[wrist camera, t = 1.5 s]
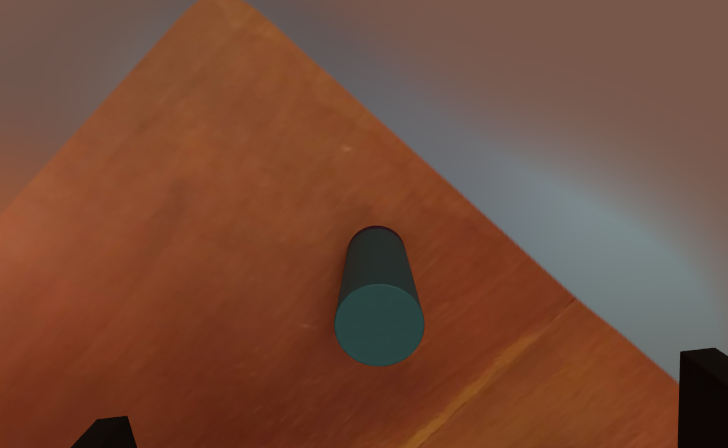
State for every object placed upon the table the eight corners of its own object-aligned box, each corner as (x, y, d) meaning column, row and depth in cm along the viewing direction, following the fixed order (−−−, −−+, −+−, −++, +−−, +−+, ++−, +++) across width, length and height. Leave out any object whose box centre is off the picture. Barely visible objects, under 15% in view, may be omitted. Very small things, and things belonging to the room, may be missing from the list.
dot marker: (336, 244, 29) (316, 313, 18) (385, 214, 29) (394, 266, 18) (367, 290, 30) (365, 382, 19) (415, 261, 29) (441, 339, 19)
